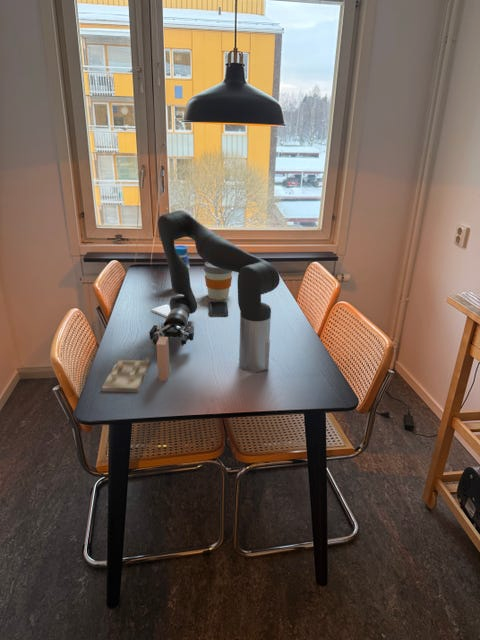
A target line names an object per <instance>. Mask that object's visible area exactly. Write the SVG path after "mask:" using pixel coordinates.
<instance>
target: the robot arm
mask: <svg viewBox="0 0 480 640" xmlns="http://www.w3.org/2000/svg"><path fill="white" fill-rule="evenodd" d="M157 229H158V233H159V238H160V241H161V245H162V247H163V251H164V256H165V257H166V262H167V265H168V270H169V277H170V283H171V290H172V292H174V293H175V294H179V295H174V296H172V297H171V298H170V300H169V305H170V310H171V311H170V313H169V314H168V316H167V318H166V317H165V321H164V322H163V325H162V326H161V327H158V325H152V327H151V329H150V330H149V332H148V333H149V340H151V341H152V344H154V346H156V344H157V342H158V339H159V337H168V338H177V339H180V346H182V347H183V346H184V345H186V344H187V342H188V340H189V341H191V342H192V341H194V338H195V337H194V336H195V327H194V326H191V325H190V327H188V323H189V318H190V315H191V314H195V313H196V311H197V309H198V302H197V299H196V296H195V294H194V292H193V290H192V286H191V279H190V278H191V277H190V269H189V270H188V267H187V265H186V264H185V262H184V261H183V260H182V259H181V258H180V256H179V255H178V254H177V252H176V250H175V246H176V245H175V241H177V240H180V239H183V238H189V239H192V240H193V241H194V243H195V249H196V252H197V255H198V256H199V257H200V258H201V259H203V260H204V261H205V262H208V263H210V264H211V265H213V266H215V267H218V268H221V269H225V270H230V271H232V272H234V273H235V272H236V273H238V274H237V304H238V308H239V312H240V313H239V316H240V317H239V319H240V320H239V321H240V322H239V346H238V347H239V351H238V352H239V353H238V354H239V355H238V357H239V358H238V365H239V368H240V369H242V370H243V371H246V372H249V373H260V372H263V371H269V368H270V367H269V365H270V351H271V350H270V347H271V346H270V345H271V342H270V341H271V340H270V337H271V332H270V331H271V320H272V319H271V317H272V316H271V315H272V307H271V306H270V305H269V304H267V303H265V302H262V295H265V294H268V293H270V292H272V291H274V290H276V288H277V287H279V284H280V274H279V272H278V270H277V268H276V267H275V266H274V265H273V264H272V263H270V262H268V261H267V260H264V259H262V258H260V257H259V256H258V257H257V256H255V255H253V254H251V253H249V252H247V251H246V250H244V249H242V248H241V247H239V246H238V245H235V244H234V243H232V242H231V241H229V240H228V239H226V238H224V237H223V236H221V235H220V234H218V233H216V232H214V231H212V230H211V229H210V228H208V227H206V226H205V225H204V224H203V223H200V222H199V221H198V220H197V219H195V218H194V217H193V216H192V215H191V214H189V213H188V212H186V211H184V210H176V211H171V212H169V213H168V212H167V213H165V214H162V215H160V216H159V217H158V220H157ZM187 327H188V328H187Z"/></svg>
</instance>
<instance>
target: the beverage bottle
mask: <svg viewBox="0 0 480 640" xmlns="http://www.w3.org/2000/svg"><path fill="white" fill-rule="evenodd" d="M175 250H176V252H177V254H178V255H179V256H180V258H181V259H182V260H183V261H184V262H185V264H186V265H187V267H188V270H189V271H190V259H189V257H188V256H187V255H188V247H187V245H186V246H185V245H175Z"/></svg>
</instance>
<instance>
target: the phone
mask: <svg viewBox="0 0 480 640" xmlns="http://www.w3.org/2000/svg"><path fill="white" fill-rule="evenodd" d="M208 316H209V317H211V318H213V317H214V318H216V317H218V318H219V317H221V318H223V317H228V316H229V308H228V302H227V301H221V300H218V301H217V300H215V301H214V300H213V301H212V300H211V301H209V303H208Z"/></svg>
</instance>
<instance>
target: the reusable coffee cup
mask: <svg viewBox="0 0 480 640" xmlns="http://www.w3.org/2000/svg"><path fill="white" fill-rule="evenodd" d="M203 270H204V273H205V275H204V279H205V287H206V288H207V294H208V298H210V299H212V300H215V301H217V300H218V301H221V300H226V299H227V298H229V294H230V288H231V287H232V280H233V279H232V278H233V276H232V274H233V273H232V272H233V271H230V270H225V269H221V268H218V267H215V266H213V265H211V264H210V263H208V262H207V261H205V263H204V269H203Z"/></svg>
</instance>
